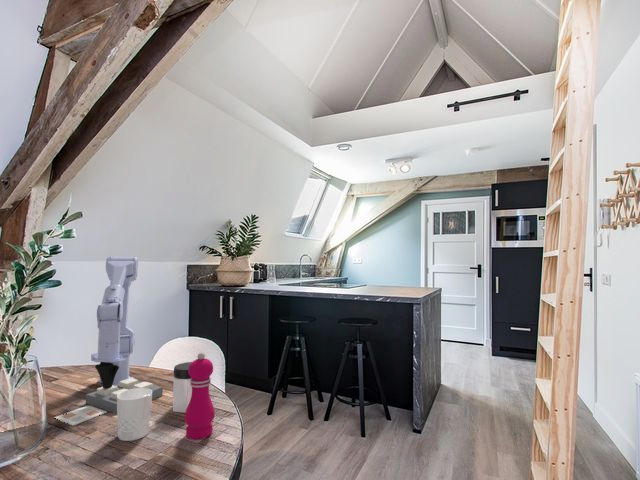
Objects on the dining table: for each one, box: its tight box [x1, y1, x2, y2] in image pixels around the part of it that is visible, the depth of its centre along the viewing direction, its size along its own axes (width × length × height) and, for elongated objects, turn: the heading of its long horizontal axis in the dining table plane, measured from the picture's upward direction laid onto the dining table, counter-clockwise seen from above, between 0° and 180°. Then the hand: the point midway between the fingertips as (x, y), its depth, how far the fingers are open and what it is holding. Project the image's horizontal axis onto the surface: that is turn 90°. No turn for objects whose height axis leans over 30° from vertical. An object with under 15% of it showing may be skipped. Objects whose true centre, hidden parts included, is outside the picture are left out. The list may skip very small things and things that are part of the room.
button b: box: [119, 377, 139, 389], centre depth 116 cm, size 4×4×2 cm
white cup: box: [116, 388, 153, 442], centre depth 89 cm, size 8×8×10 cm
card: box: [53, 404, 108, 426], centre depth 99 cm, size 9×9×1 cm
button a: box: [96, 385, 118, 396], centre depth 110 cm, size 4×4×2 cm
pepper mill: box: [184, 352, 216, 440], centre depth 90 cm, size 7×7×20 cm
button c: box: [111, 389, 128, 400], centre depth 106 cm, size 4×4×2 cm
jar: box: [172, 361, 193, 414], centre depth 106 cm, size 9×8×12 cm
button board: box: [85, 380, 164, 414], centre depth 111 cm, size 15×15×3 cm
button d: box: [133, 381, 154, 389], centre depth 113 cm, size 4×4×2 cm
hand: (107, 387), depth 110 cm, fingers closed
